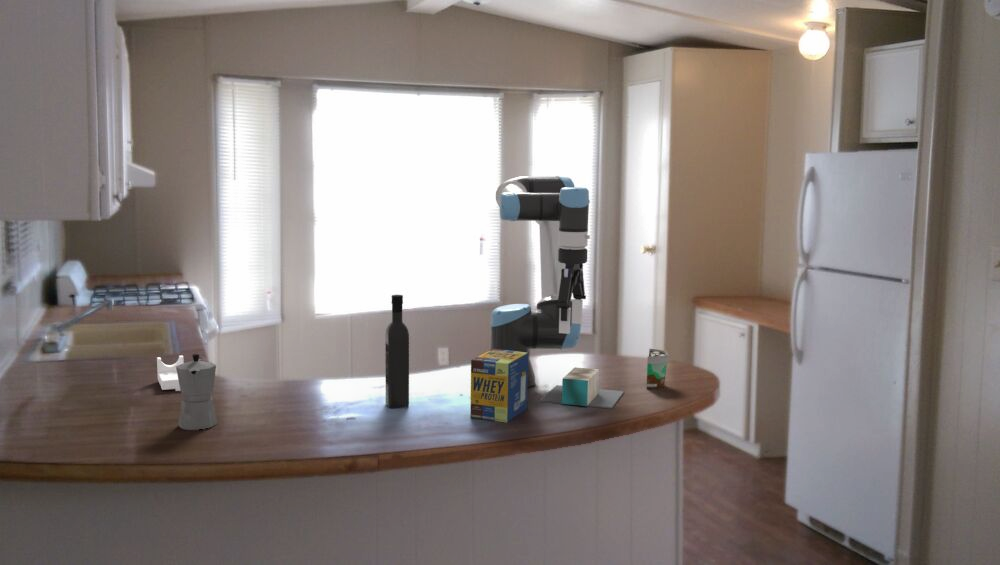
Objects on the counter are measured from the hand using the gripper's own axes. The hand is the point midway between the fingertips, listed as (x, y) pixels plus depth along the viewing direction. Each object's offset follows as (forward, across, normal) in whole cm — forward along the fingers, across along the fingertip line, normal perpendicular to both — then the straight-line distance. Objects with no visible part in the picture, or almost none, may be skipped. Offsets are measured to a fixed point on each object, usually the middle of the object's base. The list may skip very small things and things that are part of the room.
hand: (570, 328), depth 241 cm
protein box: (+23, -8, +17) cm, 29 cm away
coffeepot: (+23, -44, +84) cm, 97 cm away
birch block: (+19, +6, 0) cm, 20 cm away
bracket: (+24, -14, +114) cm, 117 cm away
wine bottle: (+23, -11, +45) cm, 51 cm away
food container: (+23, +36, -18) cm, 47 cm away
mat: (+23, +16, 0) cm, 28 cm away
